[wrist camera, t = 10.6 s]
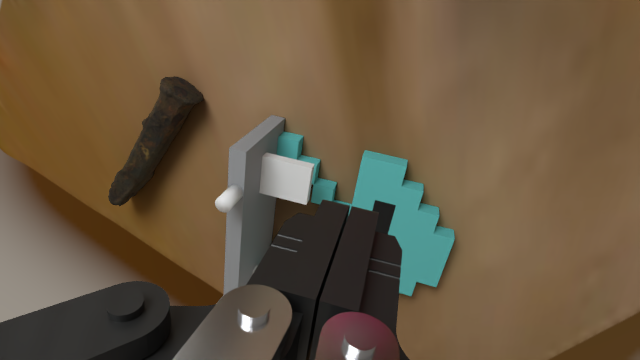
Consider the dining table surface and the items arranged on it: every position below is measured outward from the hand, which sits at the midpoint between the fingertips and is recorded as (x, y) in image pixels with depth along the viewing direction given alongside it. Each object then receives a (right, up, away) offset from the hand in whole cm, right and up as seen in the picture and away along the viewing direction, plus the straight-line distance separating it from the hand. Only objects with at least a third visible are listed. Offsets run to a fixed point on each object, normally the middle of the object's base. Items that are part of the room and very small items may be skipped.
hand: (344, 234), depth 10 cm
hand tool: (-19, +6, +36) cm, 41 cm away
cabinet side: (-4, -2, +35) cm, 35 cm away
